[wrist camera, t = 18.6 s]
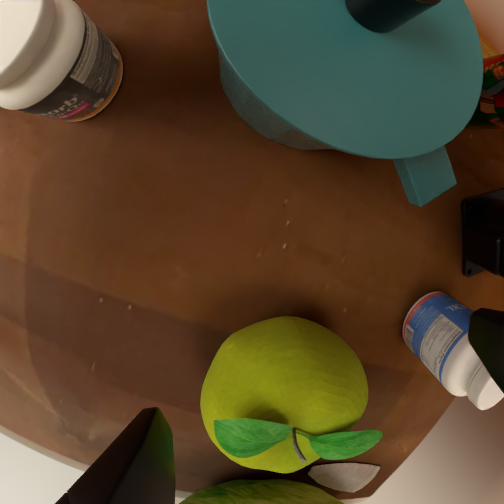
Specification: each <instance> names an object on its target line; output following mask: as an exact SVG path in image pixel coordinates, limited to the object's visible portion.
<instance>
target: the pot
mask: <svg viewBox="0 0 504 504" xmlns="http://www.w3.org/2000/svg"><path fill="white" fill-rule="evenodd" d="M218 59H219V70H220V77H221V85H222V88H223V90H224V91H225V94H226V96H227V98H228V100H229V102H230V104H231V105H232V107H233V108H234V109H235V111H236V112H237V114H238V115H239V116H240V118H242V119H243V120H244V121H245V122H246V123H247V124H248V125H249V126H250V127H251V128H252V129H254V130H255V131H257V132H258V133H260V134H261V135H262V136H264V137H266V138H267V139H269V140H271V141H274V142H276V143H279V144H282V145H284V146H288V147H292V148H296V149H299V150H304V151H306V150H323V149H332V148H330V147H327V146H325V145H323V144H321V143H318V142H316V141H314V140H312V139H310V138H308V137H306V136H305V135H303V134H301V133H299V132H298V131H296V130H294V129H292V128H291V127H289V126H288V125H287V124H285V123H284V122H282V121H281V120H280V119H278V118H277V117H275V116H274V115H273V114H271V113H270V112H269V111H268V110H267V109H266V108H265V107H264V106H263V105H261V104H260V103H259V102H258V101H257V100H256V99H255V98H254V97H253V96H252V95H251V94H250V93H249V92H248V91H247V89H246V88H245V87H244V86H243V85H242V84H241V83H240V82H239V81H238V79H237V78H236V76H235V75H234V73H233V72H232V71H231V69H230V68H229V66H228V65H227V64H226V62H225V60H224V58H223V56H222V54H221V52H220V50H219V48H218ZM392 160H393V162H394V165H395V167H396V170H397V172H398V175H399V177H400V180H401V183H402V185H403V188H404V191H405V193H406V196H407V199H408V202H409V203H410V204H412V205H416V206H419V207H422V206H424V205H425V204H427V203H428V202H430V201H431V200H433V199H435V198H436V197H438V196H439V195H441V194H442V193H444V192H445V191H447V190H449V189H450V188H452V187H453V186H455V185H456V184H457V182H456V178H455V175H454V172H453V169H452V166H451V163H450V160H449V157H448V154H447V151H446V148H445V145H444V146H443V147H441V148H439V149H437V150H435V151H432V152H430V153H428V154H425V155H421V156H417V157H413V158H404V159H392Z"/></svg>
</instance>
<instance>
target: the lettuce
mask: <svg viewBox="0 0 504 504" xmlns="http://www.w3.org/2000/svg"><path fill="white" fill-rule="evenodd" d="M179 504H344V503H342V502H341V501H339V500H337V499H336V498H334V497H333V496H331V495H330V494H328V493H326V492H325V491H323V490H322V489H320V488H317V487H314V486H311V485H308V484H306V483H302V482H297V481H292V480H287V479H270V480H236V479H235V480H232V481H229V482H225V483H222V484H218V485H215V486H211V487H207V488H203V489H200V490H197V491H196V492H194V493H193V494H192V495H190V496H189V497H188V498H186V499H185V500H183V501H182V502H181V503H179Z"/></svg>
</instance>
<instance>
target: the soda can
mask: <svg viewBox="0 0 504 504" xmlns="http://www.w3.org/2000/svg"><path fill="white" fill-rule="evenodd" d="M465 127H467V128H469V129H504V54H502V55H497V56H493V57H489V58H485V59H483V83H482V89H481V94H480V98H479V101H478V104H477V107H476V109H475V111H474V113H473V115H472V117H471V119H470V120H469V122H468V123H467V125H466V126H465Z"/></svg>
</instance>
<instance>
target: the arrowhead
mask: <svg viewBox="0 0 504 504" xmlns="http://www.w3.org/2000/svg"><path fill="white" fill-rule="evenodd" d="M379 469H380V467H379V466H375V465H370V464H358V463H335V464H326V465H320V466H313V467H312V468H311V470H310V471H309V472H308V475H309V476H311V478H313V479H314V480H315V482H317V483H319V484H321V485H323V486H326V487H328V488H331V489H334V490H340V491H345V492H356V491H357V490H359V489H361V488H363V487H364V486H365V485H367V484H368V483H369V482H370V481H371V480H372V479H373V478H374V477H375V475H376V474H377V472H378V471H379Z"/></svg>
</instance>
